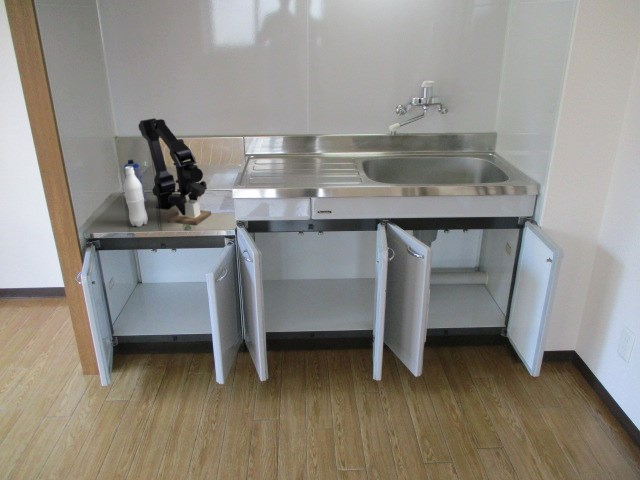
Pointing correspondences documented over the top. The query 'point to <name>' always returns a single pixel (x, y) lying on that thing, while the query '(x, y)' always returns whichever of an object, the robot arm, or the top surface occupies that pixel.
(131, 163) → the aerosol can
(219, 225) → the top surface
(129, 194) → the water bottle
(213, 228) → the top surface
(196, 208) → the block
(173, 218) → the board
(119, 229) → the top surface
